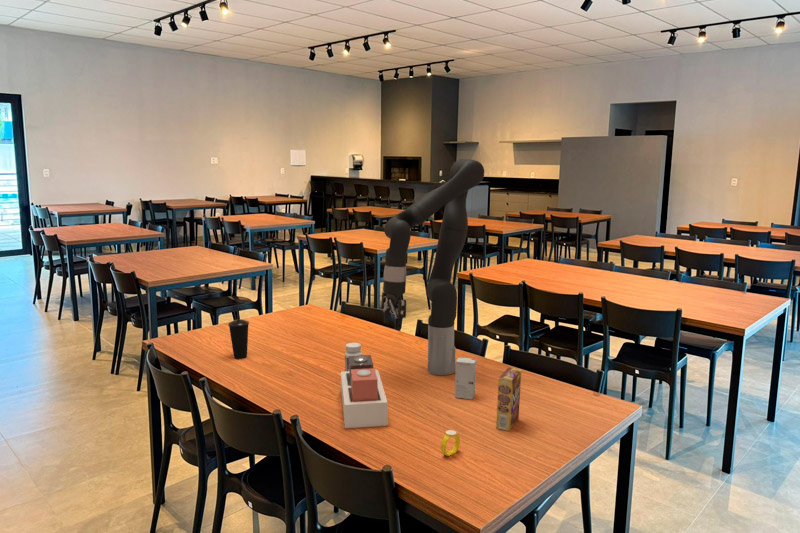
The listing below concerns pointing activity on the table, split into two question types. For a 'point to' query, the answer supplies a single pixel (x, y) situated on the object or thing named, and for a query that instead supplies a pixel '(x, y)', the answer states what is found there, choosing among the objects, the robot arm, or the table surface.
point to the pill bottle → (351, 352)
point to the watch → (447, 435)
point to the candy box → (508, 399)
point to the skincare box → (465, 378)
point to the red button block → (364, 385)
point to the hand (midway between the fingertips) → (392, 326)
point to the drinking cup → (239, 337)
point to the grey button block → (359, 363)
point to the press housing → (363, 406)
